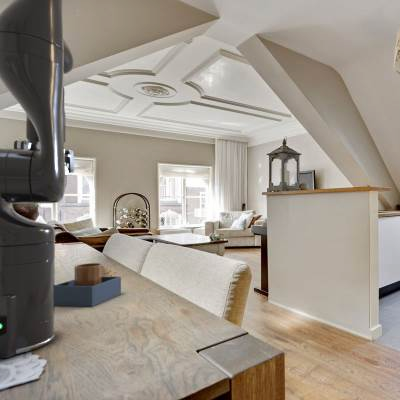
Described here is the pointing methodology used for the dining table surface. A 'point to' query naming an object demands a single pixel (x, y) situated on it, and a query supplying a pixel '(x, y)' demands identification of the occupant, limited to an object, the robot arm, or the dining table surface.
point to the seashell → (107, 272)
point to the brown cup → (88, 274)
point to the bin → (86, 292)
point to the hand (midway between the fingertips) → (45, 187)
